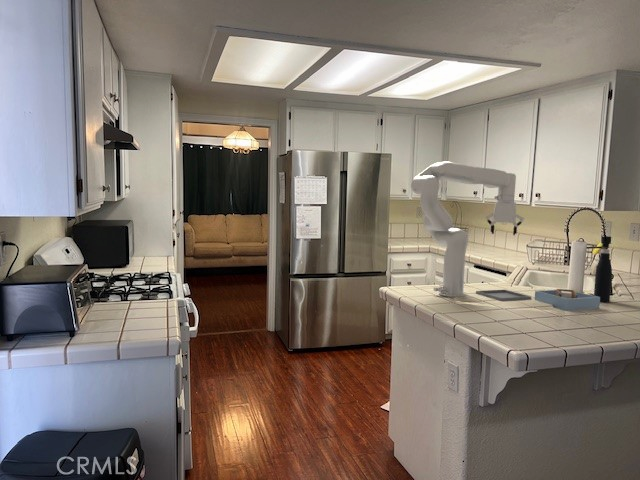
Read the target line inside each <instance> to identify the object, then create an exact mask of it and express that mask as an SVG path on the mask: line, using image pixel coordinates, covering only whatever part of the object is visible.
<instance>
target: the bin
mask: <svg viewBox="0 0 640 480" xmlns="http://www.w3.org/2000/svg"><path fill="white" fill-rule="evenodd" d="M575 292H576V294H577V298H571V299H568V298H564V297H559V296H556V289H546V290H545V289H544V290H543V289H542V290H535V291H534V301H538V302H541V303H545V304H549V305H552V308H555V309H560V310H563V311H567V312H569V311H570V312H571V311H584V310H585V311H587V310H594V309H595V310H596V309H600V305H601V302H600V297H598V296H594V294H593V295H592V294H588V293H584V292H579V291H575Z"/></svg>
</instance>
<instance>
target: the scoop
mask: <svg viewBox="0 0 640 480" xmlns="http://www.w3.org/2000/svg"><path fill="white" fill-rule="evenodd" d="M555 290H556V296H559V297H560V296H561V291H567V292H571V293H572V298H577V294H576V292H577V291H575V290H574V289H563V288H556V289H555Z"/></svg>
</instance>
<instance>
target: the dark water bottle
mask: <svg viewBox="0 0 640 480" xmlns="http://www.w3.org/2000/svg"><path fill="white" fill-rule="evenodd" d="M603 236H605V235H603ZM603 236H601V240H600V243H601V244H602V246H601V247H602V249H601V250H600V256H599V260H598V261H597V265H596V268H595V277H594V289H593V290H594V291H593V296H598V297H600V303H610V301H611V300H610V299H611V298H610V297H611V288H612V275H613V274H612V273H613V268H612V263H611V260H610V257H611V254H610V251H611V250H610V249H609V248H610V244H612V236H608V235H607V236H605V237H606V242H605V237H603Z"/></svg>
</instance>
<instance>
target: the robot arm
mask: <svg viewBox="0 0 640 480" xmlns="http://www.w3.org/2000/svg"><path fill="white" fill-rule="evenodd" d="M516 179H517V175H516V173H512V172H506V171H504V170H500V169H494V168H488V167H487V168H486V167H480V166H474V165H467V164H463V163H457V162H452V161H439V162H435V163H433V164H431V165H430V166H428V167H427V168H426V169H424V170H423V171H422V172H420V173H418V175H416V176H415V177H414V178H413V179H412V180H411V184H410V188H411V190H412V192H413V193H415V194H417V195H420V198H419V204H420V208H421V211H422V212H423V213H424V216H423V220H422V221H423V226H424V228H425V229H426V231H427V232H428V233H429V235H430V236H431V237H432V238H433V240H434V241H435V242H436V243H437V244H438V245H439V246H441V247H444V248H446V249H445V252H444V256H443V271H442V272H443V273H442V284H440V286H434V287H433V291H434V292H438V294H439V295H440V296H443V297H449V298H456V297H458V296H460V297H461V296H462V297H463V296H467V293H466V292H464V287H465V286H464V283H465V267H466V254H467V253H466V252H467V248H468V244H469V237H468V234H467V232H466V231H465V230H463V229H462V228H458V227H453V225H454V220H453V218H452V216H451V215H450V214H449V212H448V211H447V210H446V209H445V207H444V206H443V204H442V203H441V202H440V199H439V190H440V181H448V182H453V183H454V182H455V183H459V184H465V185H483V186H484V187H486V188H488V189H495V188H497V189H498V190H497V195H496V196H494V200H496V201H495V204H494V209H493V213H491V214H489V215H486V216H485V220H486V221H487V223H488V224H489V225H490V233H491V234H492V235H494V234H495V224H496V223H507V224H509V223H510V224H512V225H513V229H512V230H513V233H512V235H513V236H516V234H517V233H518V227H519V226H520V225H522V223H523V222H524V220H525V217H522V216H520V215H519V214H517V203H516V202H515V195H516V182H517V180H516ZM490 218H492V220H493V221H491V220H490ZM517 219H519V221H518V222H517V223H516V220H517Z"/></svg>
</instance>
